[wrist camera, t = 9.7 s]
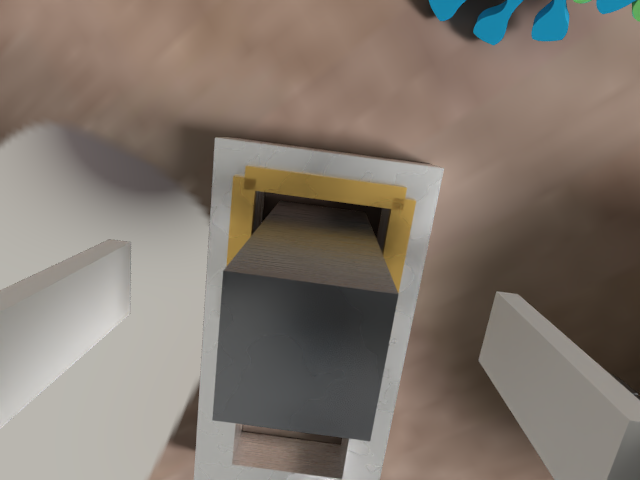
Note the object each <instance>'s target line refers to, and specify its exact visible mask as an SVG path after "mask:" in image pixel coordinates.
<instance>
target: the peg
mask: <svg viewBox="0 0 640 480" xmlns="http://www.w3.org/2000/svg"><path fill="white" fill-rule="evenodd" d="M398 295H399V294H398V291H397V289H396V286H395V284H394V281H393V279H392V276H391V274H390V272H389V269H388V267H387V264H386V262H385V259H384V257H383V254H382V252H381V249H380V247H379V244H378V242H377V239H376V237H375V234H374V232H373V229H372V227H371V225H370V222H369V220H368V217H367V215H366V212H362V211H355V210H347V209H340V208H332V207H325V206H317V205H310V204H302V203H295V202H288V201H279V202H278V204H277V205H276V206H275V207H274V209H273V210H272V211H271V212H270V213H269V215H268V216H267V217H266V218H265V220H264V221H263V222H262V223H261V225H260V226H259V227H258V228H257V230H256V231H255V232H254V233H253V234H252V236H251V237H250V238H249V239H248V241H247V242H246V243H245V244H244V246H243V247H242V248H241V249H240V250H239V252H238V253H237V254H236V255H235V257H234V258H233V259H232V260H231V262H230V263H229V264H228V265H227V267H226V268H225V269H224V270H223V280H222V293H221V307H220V321H219V335H218V349H217V363H216V376H215V390H214V404H213V418H212V420H214V421H221V422H229V423H236V424H244V425H251V426H258V427H266V428H273V429H281V430H288V431H296V432H303V433H311V434H318V435H326V436H333V437H341V438H348V439H356V440H363V441H370V440H371V435H372V430H373V425H374V419H375V414H376V409H377V404H378V399H379V394H380V388H381V383H382V378H383V373H384V368H385V362H386V357H387V352H388V347H389V342H390V337H391V331H392V326H393V321H394V316H395V311H396V305H397V300H398Z"/></svg>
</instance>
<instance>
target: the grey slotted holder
mask: <svg viewBox="0 0 640 480" xmlns="http://www.w3.org/2000/svg"><path fill="white" fill-rule="evenodd" d="M443 171H444V168H441V167H438V166H435V165H432V164H426V163H418V162H411V161H403V160H396V159H389V158H381V157H374V156H366V155H359V154H352V153H344V152H337V151H329V150H322V149H315V148H307V147H300V146H292V145H285V144H278V143H270V142H263V141H255V140H248V139H240V138H233V137H215V146H214V162H213V178H212V194H211V210H210V227H209V244H208V260H207V276H206V292H205V308H204V324H203V340H202V356H201V372H200V389H199V405H198V421H197V437H196V453H195V470H194V480H380V475H381V471H382V466H383V461H384V456H385V451H386V446H387V442H388V437H389V432H390V427H391V422H392V417H393V413H394V408H395V403H396V398H397V393H398V388H399V384H400V379H401V374H402V369H403V364H404V359H405V355H406V350H407V345H408V340H409V335H410V330H411V326H412V321H413V316H414V311H415V306H416V301H417V297H418V292H419V287H420V282H421V277H422V272H423V268H424V263H425V258H426V253H427V248H428V243H429V239H430V234H431V229H432V224H433V219H434V214H435V210H436V205H437V200H438V195H439V190H440V185H441V181H442V176H443ZM265 192H269V193H276V194H284V195H291V196H299V197H306V198H313V199H321V200H328V201H336V202H343V203H351V204H358V205H365V206H373V207H380V208H382V211H381V216H380V222H379V228H378V234H377V242H378V244H379V247H380V249H381V252H382V254H383V257H384V259H385V262H386V264H387V267H388V269H389V272H390V274H391V276H392V279H393V281H394V284H395V286H396V289H397V291H398V294H399V295H398V300H397V305H396V311H395V316H394V321H393V326H392V331H391V337H390V342H389V347H388V352H387V357H386V362H385V368H384V373H383V378H382V383H381V388H380V394H379V399H378V404H377V409H376V414H375V419H374V425H373V430H372V435H371V440H370V441H363V440H356V439H348V438H342V443H341V445H338V444H331V443H323V442H316V441H308V440H301V439H294V438H286V437H279V436H271V435H264V434H256V433H249V432H242V426H243V424H236V423H229V422H221V421H214V420H212V418H213V404H214V390H215V376H216V363H217V349H218V335H219V321H220V307H221V293H222V280H223V270H224V269H225V268H226V267H227V265H228V264H229V263H230V262H231V260H232V259H233V258H234V257H235V255H236V254H237V253H238V252H239V250H240V249H241V248H242V247H243V246H244V244H245V243H246V242H247V241H248V239H249V238H250V237H251V236H252V234H253V233H254V232H255V231H256V230H257V228H258V227H259V226H260V225H261V223H262V217H263V207H264V196H265Z"/></svg>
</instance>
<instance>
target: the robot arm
mask: <svg viewBox="0 0 640 480" xmlns="http://www.w3.org/2000/svg"><path fill="white" fill-rule="evenodd" d="M130 291H131V242H127V241H119V240H111V239H109V240H107V241H105V242H102V243H100V244H98V245H96V246H94V247H92V248H89V249H88V250H85V251H83V252H81V253H79V254H77V255H75V256H72V257H70V258H68V259H66V260H64V261H62V262H60V263H58V264H55V265H53V266H51V267H49V268H47V269H45V270H43V271H41V272H38V273H36V274H34V275H32V276H30V277H28V278H26V279H24V280H21V281H19V282H17V283H15V284H13V285H11V286H9V287H7V288H4V289H2V290H0V428H2V427H3V426H4V425H5V424H6V423H7V422H8V421H9V420H11V419H12V418H13V417H14V416H15V415H16V414H17V413H19V412H20V411H21V410H22V409H23V408H24V407H25V406H26V405H28V403H30V402H31V401H32V400H33V399H34V398H35V397H36V396H38V394H40V393H41V392H42V391H43V390H44V389H45V388H47V387H48V386H49V385H50V384H51V383H52V382H53V381H55V380H56V379H57V378H58V377H59V376H60V375H61V374H63V372H65V371H66V370H67V369H68V368H69V367H70V366H72V365H73V364H74V363H75V362H76V361H77V360H78V359H80V358H81V357H82V356H83V355H84V354H85V353H86V352H87V351H88V350H90V349H91V348H92V347H93V346H94V345H95V344H97V343H98V342H99V341H100V340H101V339H102V338H103V337H104V336H105V335H107V334H108V333H109V332H110V331H111V330H112V329H113V328H115V327H116V326H117V325H118V324H119V323H120V322H121V321H123V320H124V319H125V318H126V317H127V316H128V315H129V314H130ZM478 361H479V362H480V364H481V365H482V367H483V368H484V370H485V372H486V373H487V375H488V376H489V378H490V379H491V381H492V383H493V384H494V386H495V387H496V389H497V390H498V392H499V394H500V395H501V397H502V398H503V400H504V401H505V403H506V405H507V406H508V408H509V409H510V411H511V412H512V414H513V415H514V417H515V419H516V420H517V422H518V423H519V425H520V426H521V428H522V430H523V431H524V433H525V434H526V436H527V437H528V439H529V441H530V442H531V444H532V445H533V447H534V448H535V450H536V452H537V453H538V455H539V456H540V458H541V459H542V461H543V463H544V464H545V466H546V467H547V469H548V470H549V472H550V474H551V475H552V477H553V478H554V480H640V396H638V393H637V392H635V391H634V390H633V389H632V388H631V387H630V386H628V385H627V384H626V383H625V382H624V381H622V380H621V379H619V378H617V377H616V376H614V375H612V374H611V373H609V372H607V371H606V370H604V369H603V368H602V367H601V366H600V365H599V364H598V363H596V362H595V361H594V360H593V359H592V358H591V357H590V356H588V355H587V354H586V353H585V352H584V351H583V350H582V349H580V348H579V347H578V346H577V345H576V344H575V343H573V342H572V341H571V340H570V339H569V338H568V337H567V336H565V335H564V334H563V333H562V332H561V331H560V330H559V329H557V328H556V327H555V326H554V325H553V324H552V323H551V322H549V321H548V320H547V319H546V318H545V317H544V316H542V315H541V314H540V313H539V312H538V311H537V310H536V309H534V308H533V307H532V306H531V305H530V304H529V303H528V302H526V301H525V300H524V299H523V298H522V297H521V296H520V295H518V294H513V293H506V292H498V291H496V295H495V298H494V302H493V306H492V310H491V314H490V318H489V322H488V325H487V329H486V333H485V337H484V341H483V345H482V348H481V352H480V356H479V360H478Z"/></svg>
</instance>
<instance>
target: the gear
mask: <svg viewBox="0 0 640 480" xmlns="http://www.w3.org/2000/svg"><path fill="white" fill-rule="evenodd" d="M465 1H466V0H429V2H430V6H431V8H432V10H433V12H434V13H435V15H436V16H437V18H438V19H439V20H440V21H445V20H448V19H450V18H451V17H452V16H453V15H454V14H455V12H456V11H457V9H458V8H459V7H460V6H461V5H462V4H463V3H464V2H465ZM522 1H524V0H506V1H505V2H503V3H502V4H500V5H497V6H494V7H490V8H488V9H485V10H484V11H483V12H482V13H481V14H480V15H479V16H478V19H477V21H476V24H475V27H474V30H473V33H474V34H475V35H476V36H477V37H478V38H480V39H481V40H483V41H485V42H487V43H489V44H492V45H495V44H497V43H499V42H500V41H501V40H502V38H503V37H504V34H505V31H506V28H507V24H508V20H509V18H510V16H511V14H512V13H513V12H514V10H515V9H516V8H517V6H518V5H519V4H520V3H521V2H522ZM573 1H574V2H576V3H587V2H589V1H592V0H573ZM631 3H632V14H633V17H634V18H635V19H636V20H637V21H640V0H597V8H598V10H599V12H600V13H602V14H606V13H611V12H613V11H616V10H619V9H621V8H623V7H625V6H627V5H629V4H631ZM568 24H569V13H568V10H567V4H566V0H552V1H551V2H550V3H549V4H548V5H546V6H545V7H544V8H543V9H542V10H541V11H539V12H538V14H537V15H536V17H535V19H534V23H533V28H532V38H533V39H534V40H538V41H556V40H562V39H563V38H564V37H565V35H566V33H567V30H568Z"/></svg>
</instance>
